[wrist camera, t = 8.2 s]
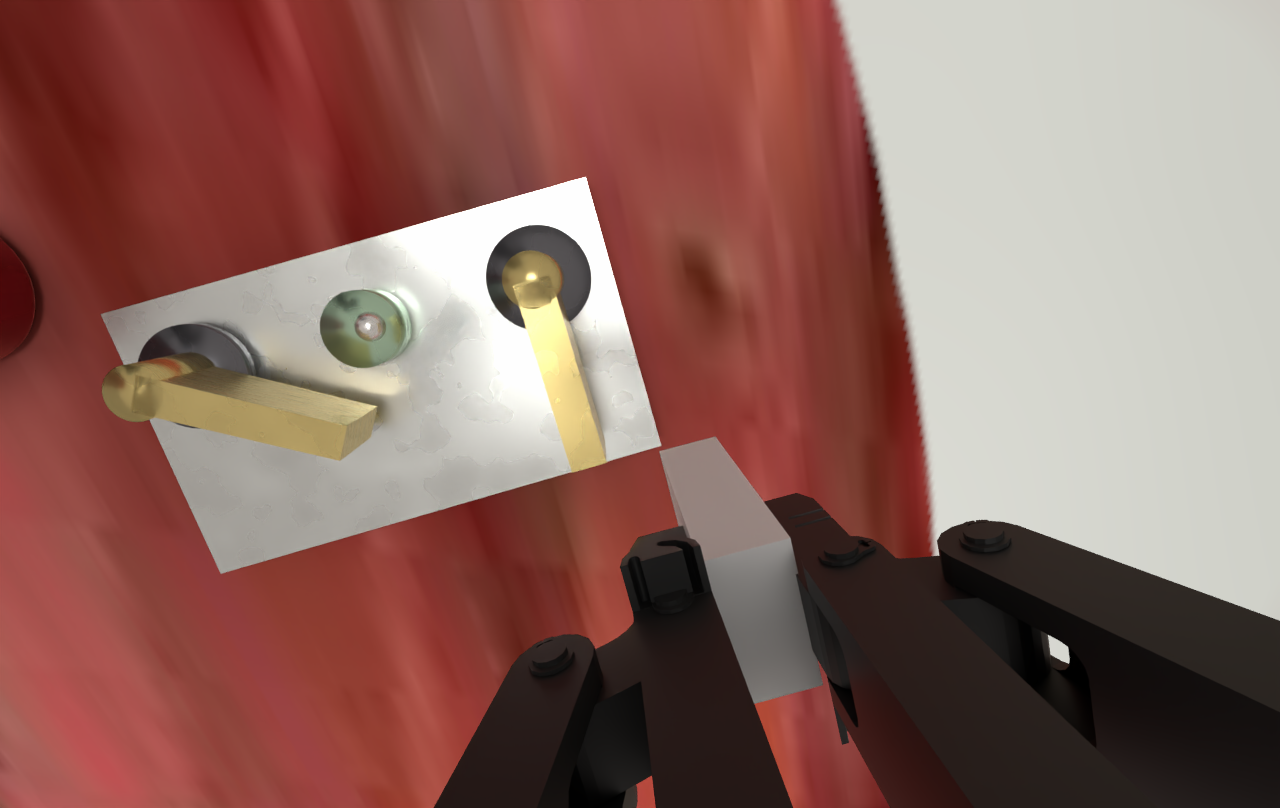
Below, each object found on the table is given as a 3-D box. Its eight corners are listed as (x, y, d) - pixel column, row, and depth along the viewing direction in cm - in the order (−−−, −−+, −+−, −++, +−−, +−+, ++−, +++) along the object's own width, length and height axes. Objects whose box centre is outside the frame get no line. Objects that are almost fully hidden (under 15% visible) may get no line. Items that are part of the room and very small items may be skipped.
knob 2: (474, 241, 31) (453, 236, 26) (574, 213, 31) (571, 203, 26) (543, 452, 33) (535, 483, 29) (635, 425, 33) (643, 452, 29)
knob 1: (141, 410, 31) (61, 435, 27) (155, 310, 31) (74, 318, 26) (370, 464, 33) (332, 497, 28) (390, 370, 32) (354, 388, 27)
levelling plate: (130, 311, 33) (54, 318, 28) (585, 182, 33) (585, 168, 28) (241, 556, 36) (189, 599, 31) (657, 436, 36) (667, 460, 31)
